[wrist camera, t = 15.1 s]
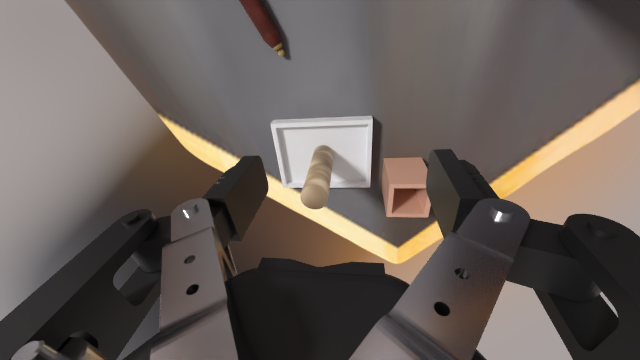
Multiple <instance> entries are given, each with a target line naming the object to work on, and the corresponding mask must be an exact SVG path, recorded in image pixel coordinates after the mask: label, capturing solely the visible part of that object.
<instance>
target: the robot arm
mask: <svg viewBox="0 0 640 360" xmlns="http://www.w3.org/2000/svg"><path fill="white" fill-rule="evenodd" d="M426 191H427V195H428V198H429V200H430V203H431V205H432V208H433V211H434V213H435V216H436V219H437V221H438V224H439V227H440V229H441V232H442V235H443V237H444V240H443V241H442V243H441V244H440V245H439V247H438V248H437V249H436V251H435V252H434V253H433V255H432V256H431V257H430V259H429V260H428V261H427V263H426V264H425V266H424V267H423V268H422V270H421V271H420V272H419V274H418V275H417V276H416V278H415V279H414V281H413V282H412V283H411V285H409V284H408V283H406V282H404V281H402V280H400V279H399V278H396V277H394V276H391V275H388V274H385V269H384V264H383V263H365V262H349V263H343V264H337V265H331V266H325V267H315V266H312V265H309V264H305V263H302V262H299V261H295V260H291V259H280V258H262V259H261V262H260V264H259V267H257V268H253V269H250V270H247V271H244V272H242V273H240V274H238V275H237V272H236V268H235V265H234V261H233V258H232V255H231V251H230V248H229V246H228V243H229V241H230V240H231V241H232V240H233V241H241V240H242V238H243V236H244V235H245V233H246V231H247V229H248V227H249V226H250V223H251V222H252V220H253V218H254V216H255V215H256V213H257V211H258V209H259V207H260V205H261V204H262V202H263V200H264V198H265V196H266V195H267V192H268V181H267V177H266V174H265V170H264V166H263V163H262V159H261V157H260V156H243V157H242V158H241V160H240V161H239V162H238V163H237V164H236V165H235V166H234V167H232V168H230V169H229V170H227V171H226V172H225V173H224V174H223V175H222V176H221V178H220V179H219V180H218V181H217V182H216V184H214V185H213V186H212V187H211V188H210V190H209V191H208V192H207V193H206V194H205V195H204V196H203V197H202V198H200V199H199V198H198V199H192V200H189V201H187V202H184V203H182V204H181V205H179V206H178V207H176V208H175V209H174V210H173V212H172V214H171V215H170V216H166V217H161V218H155V217H154V215H153V213H152V212H151V211H150V210H148V209H141V210H136V211H133V212H130V213H128V214H126V215H124V216H122V217H121V218H119V219H118V220H117V221H115V222H114V223H113V224H112V225H111V226H110V227H109V228H107V229H106V230H105V231H104V232H103V233H102V234H100V235H99V236H98V237H97V238H96V239H95V240H93V241H92V242H91V243H90V244H89V245H88V246H87V247H85V248H84V249H83V250H82V251H81V252H80V253H78V254H77V255H76V256H75V257H74V258H73V259H72V260H70V261H69V262H68V263H67V264H66V265H65V266H64V267H62V268H61V269H60V270H59V271H58V272H57V273H55V274H54V275H53V276H52V277H51V278H50V279H49V280H47V281H46V282H45V283H44V284H43V285H42V286H40V287H39V288H38V289H37V290H36V291H35V292H33V293H32V294H31V295H30V296H29V297H28V298H27V299H26V300H24V301H23V302H22V303H21V304H20V305H18V306H17V307H16V308H15V309H14V310H13V311H12V312H11V313H9V314H8V315H7V316H6V317H5V318H4V319H2V321H0V360H116V359H117V358H118V356H119V355H120V353H121V352H122V350H123V349H124V347H125V346H126V344H127V343H128V341H129V340H130V338H131V337H132V335H133V334H134V332H135V331H136V329H137V328H138V327H139V325H140V324H141V322H142V321H143V319H144V318H145V316H146V315H147V313H148V312H149V310H150V309H151V307H152V306H153V304H154V303H155V301H156V300H157V298H158V297H159V296H160V294H161V296H160V322H159V323H160V324H159V332H158V333H157V334H156V335H154V336H153V337H152V338H150V339H149V340H148V341H146V342H145V343H144V344H142V345H141V346H140V347H139V348H137V349H136V350H135V351H133V352H132V353H131V354H129V355H128V356H127V357H126V358H124V359H123V360H486V359H485V358H484V357H483V356H482V355H481V353H479V351H477V349H476V348H477V346H478V343H479V341H480V338H481V336H482V334H483V332H484V329H485V327H486V325H487V322H488V320H489V318H490V315H491V313H492V311H493V308H494V306H495V304H496V301H497V299H498V297H499V294H500V292H501V289H502V287H503V285H504V283H505V280H506V281H510V282H513V283H517V284H520V285H523V286H527V287H530V288H533V289H534V291H535V293H536V294H537V296H538V298H539V300H540V301H541V303H542V305H543V307H544V309H545V310H546V312H547V314H548V316H549V317H550V319H551V321H552V323H553V325H554V326H555V328H556V330H557V332H558V333H559V335H560V337H561V339H562V340H563V342H564V344H565V346H566V348H567V349H568V351H569V353H570V355H571V356H572V358H573V360H640V237H639V236H638V235H637V234H635V233H634V232H633V231H632V230H630V229H629V228H627V227H625V226H623V225H622V224H620V223H617V222H615V221H613V220H610V219H607V218H604V217H600V216H596V215H591V214H574V215H571V216H569V217H568V218H567V220H566V221H565V223H564V225H558V224H553V223H548V222H543V221H537V220H534V219H530V216H529V214H528V213H527V211H526V210H525V209H523V208H522V207H521V206H519V205H517V204H515V203H513V202H510V201H507V200H503V199H500V198H499V197H498V196H497V194H496V193H495V192H494V191H493V189H492V188H491V187H490V185H489V184H488V183H487V182H486V181H485V179H484V178H483V176H482V175H480V172H479V171H478V170H477V169H476V167H475V166H474V165H472V164H470V163H469V162H467V161H465V160H458V158H457V157H456V155H455V154H454V153H453V151H452V150H451V149H441V150H432V151H431V153H430V157H429V164H428V171H427V177H426ZM130 256H132V257H133V259H134V260H135V261H136V262H137V263H138V265H139V267H138V268H137V269H136V271H135V272H134V273H133V274H132V275H131V277H130V278H129V279H128V280H127V282H125V284H124V285H123V286H122V287H121V288H120V290H119V291H118V290H117V289H116V288H115V287H114V285H113V277H114V275H115V273H116V272H117V270H118V269H119V268H120V267H121V266H122V265H123V264H124V263H125V262H126V260H127V259H128V258H129V257H130ZM601 291H602V292H603V293H604V295H605V296H606V297H607V298H608V300H609V301H610V302H611V303H612V305H613V306H614V307H615V309H616V311H617V314H618V317H619V318H618V317H617V316H616V315H615V313H614V312H613V311H612V310H611V308H610V307H609V306H608V304H607V303H606V302H605V301H604V299H603V298H602V297H601V295H600V293H601Z"/></svg>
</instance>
